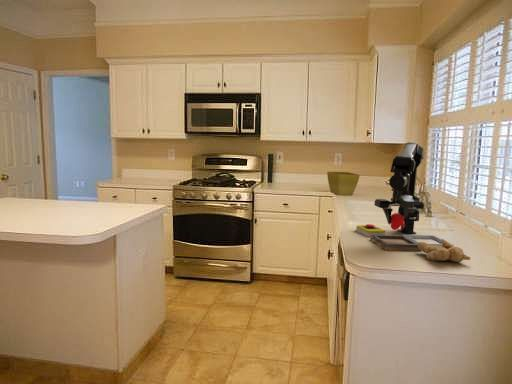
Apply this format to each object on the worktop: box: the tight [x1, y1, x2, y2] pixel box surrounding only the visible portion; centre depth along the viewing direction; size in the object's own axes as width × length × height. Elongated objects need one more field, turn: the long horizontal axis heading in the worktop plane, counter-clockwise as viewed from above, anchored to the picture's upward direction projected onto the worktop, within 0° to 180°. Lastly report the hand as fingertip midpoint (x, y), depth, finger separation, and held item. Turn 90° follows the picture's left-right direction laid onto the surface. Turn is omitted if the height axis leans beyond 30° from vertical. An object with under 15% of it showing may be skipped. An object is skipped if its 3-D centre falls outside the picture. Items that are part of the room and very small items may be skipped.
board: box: [369, 235, 422, 252], centre depth 155 cm, size 15×15×2 cm
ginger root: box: [418, 238, 471, 263], centre depth 138 cm, size 16×16×8 cm
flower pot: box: [326, 171, 361, 196], centre depth 297 cm, size 19×19×17 cm
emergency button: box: [354, 223, 387, 238], centre depth 173 cm, size 9×4×15 cm
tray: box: [402, 234, 455, 247], centre depth 162 cm, size 15×15×2 cm
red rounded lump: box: [390, 212, 405, 231], centre depth 153 cm, size 8×6×6 cm
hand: (397, 224), depth 154 cm, fingers closed on red rounded lump, 6 cm apart
